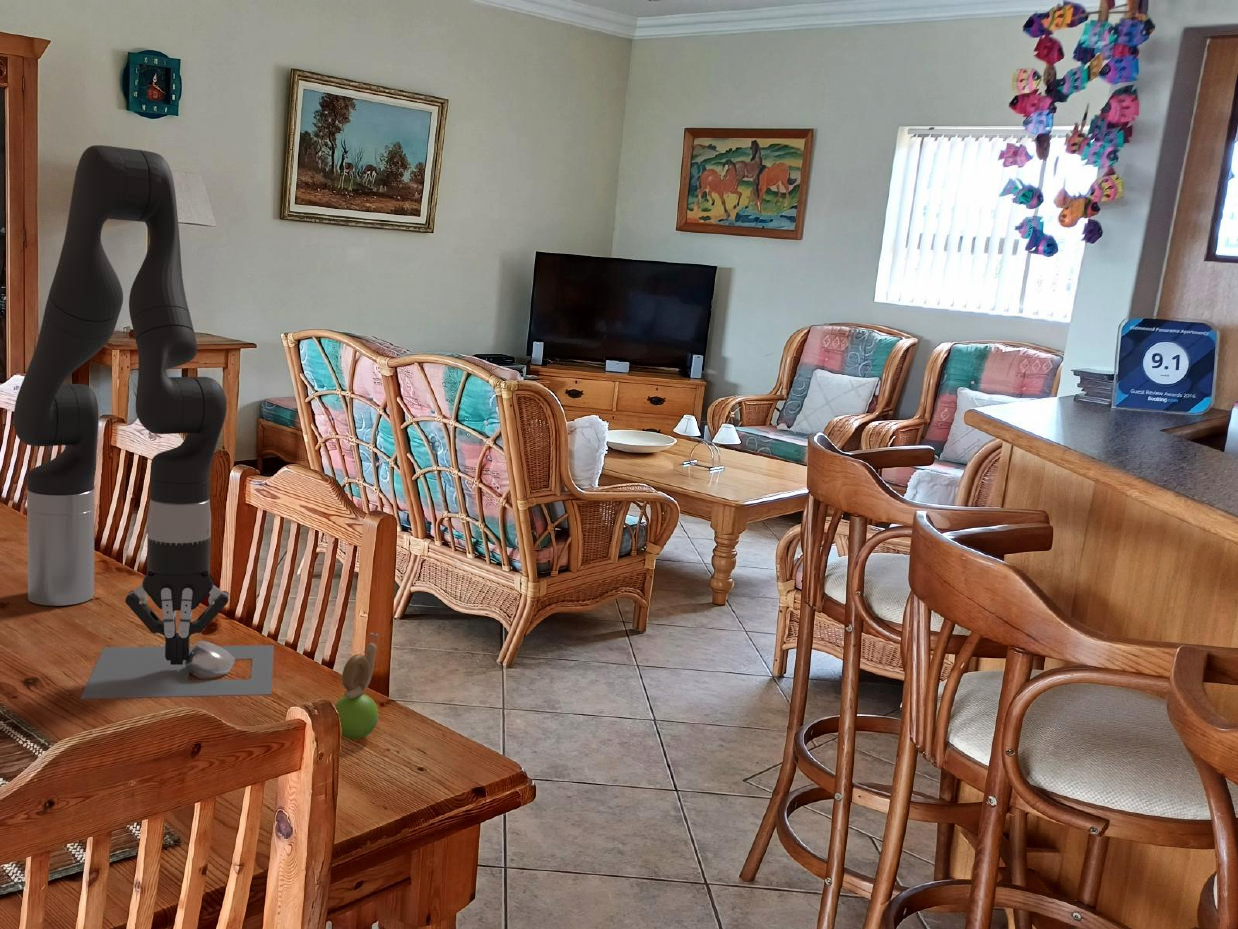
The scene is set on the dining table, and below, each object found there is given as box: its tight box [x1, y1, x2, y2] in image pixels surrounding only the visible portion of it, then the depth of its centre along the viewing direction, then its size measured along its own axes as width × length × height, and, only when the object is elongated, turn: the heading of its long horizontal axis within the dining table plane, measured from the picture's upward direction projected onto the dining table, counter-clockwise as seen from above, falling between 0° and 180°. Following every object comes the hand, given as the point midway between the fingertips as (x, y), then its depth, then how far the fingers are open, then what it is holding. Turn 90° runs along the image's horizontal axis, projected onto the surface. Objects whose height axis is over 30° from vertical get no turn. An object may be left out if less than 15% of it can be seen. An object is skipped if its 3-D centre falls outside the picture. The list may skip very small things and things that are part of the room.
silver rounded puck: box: [184, 640, 236, 679], centre depth 150 cm, size 6×6×3 cm
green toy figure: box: [334, 632, 380, 740], centre depth 136 cm, size 5×6×12 cm
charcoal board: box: [79, 644, 275, 700], centre depth 149 cm, size 22×18×2 cm
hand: (176, 662), depth 149 cm, fingers closed
